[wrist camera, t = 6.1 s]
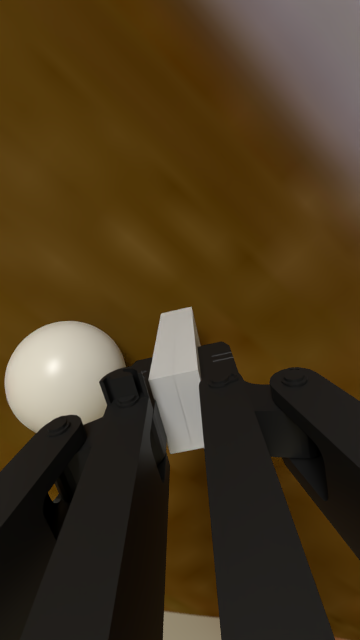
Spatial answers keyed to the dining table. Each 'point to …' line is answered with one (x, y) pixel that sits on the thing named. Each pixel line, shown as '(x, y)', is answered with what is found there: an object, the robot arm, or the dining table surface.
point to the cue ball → (60, 373)
